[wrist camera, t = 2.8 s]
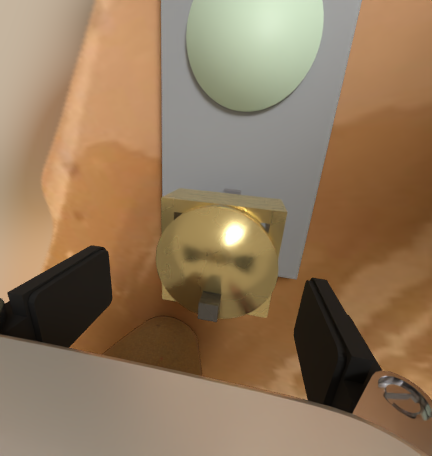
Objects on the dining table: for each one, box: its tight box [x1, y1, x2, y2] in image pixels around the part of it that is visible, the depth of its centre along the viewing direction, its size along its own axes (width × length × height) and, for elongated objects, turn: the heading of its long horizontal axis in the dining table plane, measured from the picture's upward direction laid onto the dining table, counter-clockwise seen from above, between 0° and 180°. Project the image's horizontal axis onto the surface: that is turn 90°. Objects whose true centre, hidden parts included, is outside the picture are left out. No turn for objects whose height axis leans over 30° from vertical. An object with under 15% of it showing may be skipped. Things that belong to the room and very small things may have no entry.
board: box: [161, 0, 362, 279], centre depth 14 cm, size 22×13×9 cm, turn 176°
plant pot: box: [102, 316, 202, 376], centre depth 20 cm, size 15×15×16 cm
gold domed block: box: [156, 188, 287, 322], centre depth 13 cm, size 6×6×5 cm
